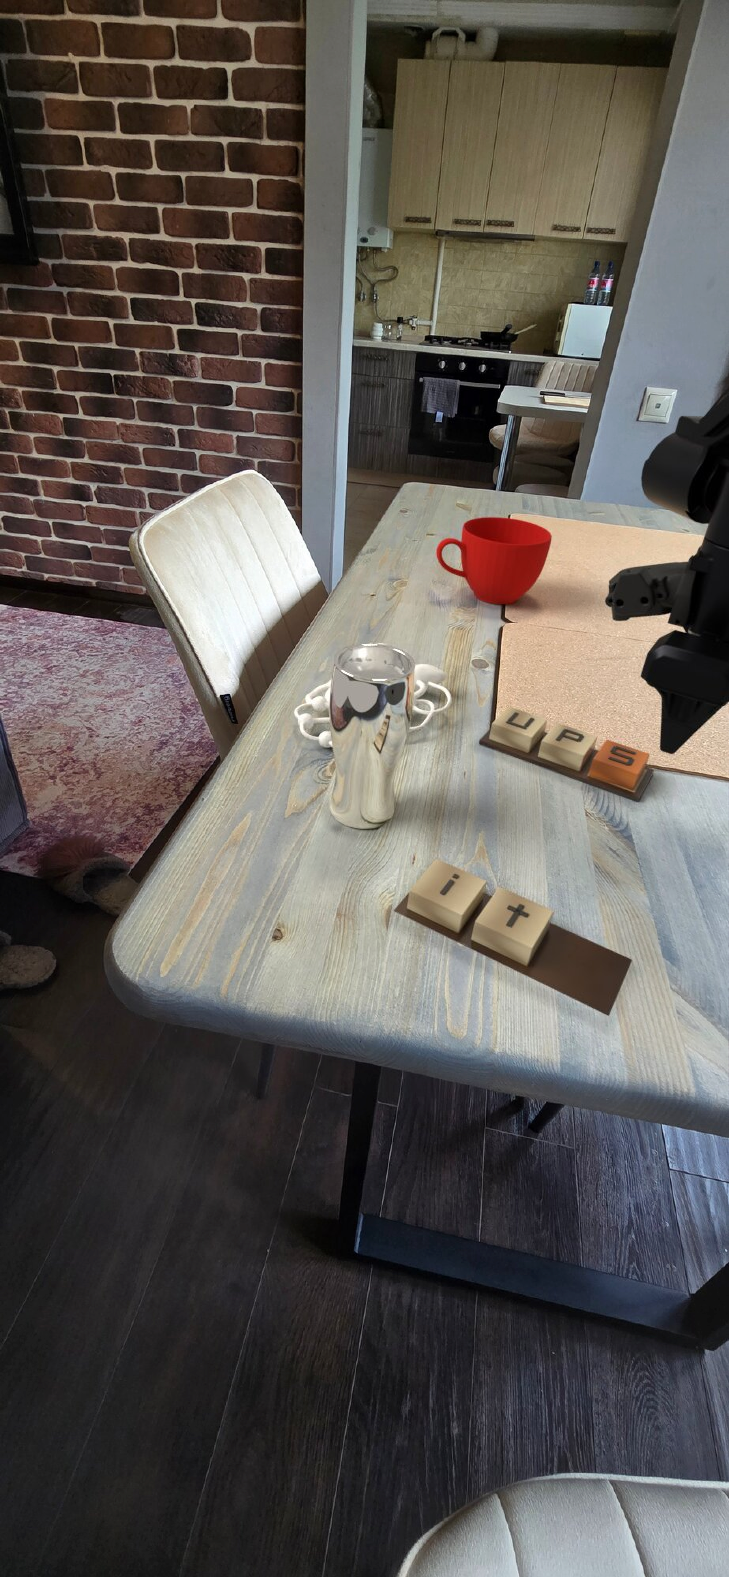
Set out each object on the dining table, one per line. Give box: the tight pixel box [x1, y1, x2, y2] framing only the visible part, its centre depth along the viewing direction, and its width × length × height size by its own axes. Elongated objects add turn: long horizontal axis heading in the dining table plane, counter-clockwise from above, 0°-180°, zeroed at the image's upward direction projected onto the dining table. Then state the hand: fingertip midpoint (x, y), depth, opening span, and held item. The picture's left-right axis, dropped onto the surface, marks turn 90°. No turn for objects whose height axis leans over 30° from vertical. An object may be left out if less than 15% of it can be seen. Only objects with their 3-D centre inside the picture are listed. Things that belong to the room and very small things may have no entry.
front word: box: [393, 858, 633, 1017], centre depth 55 cm, size 17×6×3 cm, turn 58°
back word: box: [478, 706, 655, 803], centre depth 76 cm, size 17×6×3 cm, turn 58°
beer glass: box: [328, 642, 416, 830], centre depth 63 cm, size 7×7×15 cm
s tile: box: [589, 739, 651, 790], centre depth 74 cm, size 4×4×2 cm
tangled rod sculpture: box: [293, 642, 453, 749], centre depth 81 cm, size 19×14×4 cm
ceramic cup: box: [435, 516, 553, 605], centre depth 109 cm, size 13×17×10 cm
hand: (679, 728), depth 62 cm, fingers open, 9 cm apart
